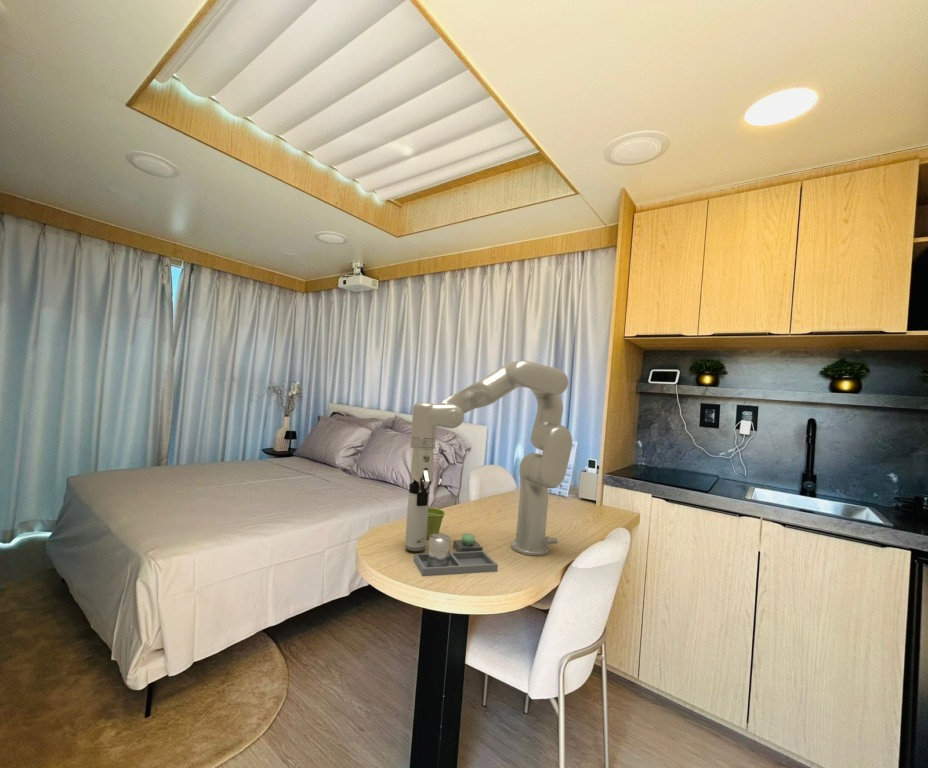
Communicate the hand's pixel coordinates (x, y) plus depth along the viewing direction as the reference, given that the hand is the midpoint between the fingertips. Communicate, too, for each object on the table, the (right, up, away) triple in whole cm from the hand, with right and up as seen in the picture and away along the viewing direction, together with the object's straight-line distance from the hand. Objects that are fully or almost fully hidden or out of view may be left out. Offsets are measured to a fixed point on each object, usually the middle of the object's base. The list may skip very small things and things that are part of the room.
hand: (418, 501), depth 121 cm
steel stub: (+6, -15, -11) cm, 19 cm away
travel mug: (-1, -14, -1) cm, 14 cm away
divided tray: (+11, -16, -9) cm, 22 cm away
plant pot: (+2, -16, +14) cm, 22 cm away
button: (+15, -16, +3) cm, 22 cm away
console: (+15, -17, +3) cm, 22 cm away
